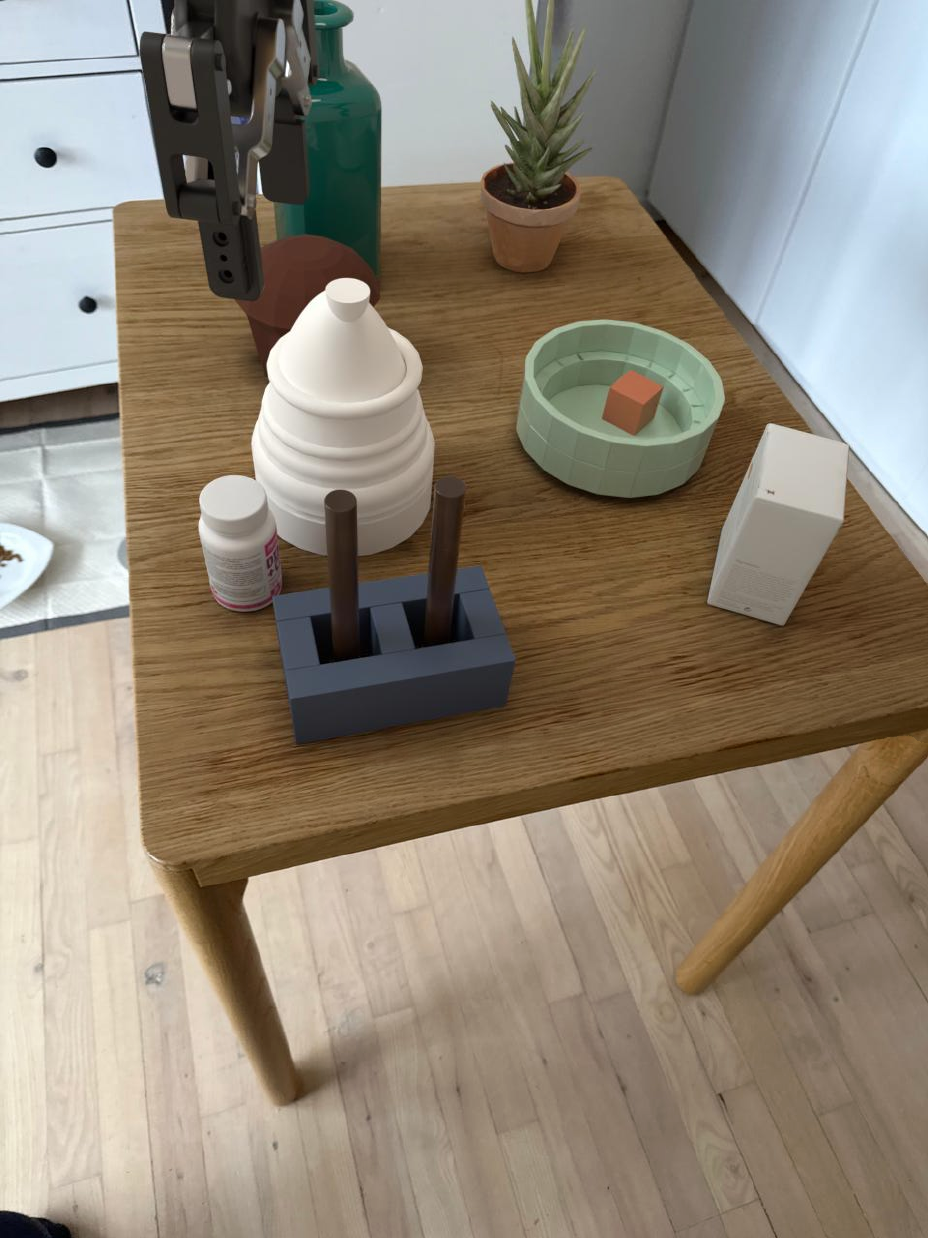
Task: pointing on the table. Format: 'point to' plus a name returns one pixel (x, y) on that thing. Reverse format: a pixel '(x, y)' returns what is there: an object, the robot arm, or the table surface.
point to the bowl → (576, 396)
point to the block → (632, 402)
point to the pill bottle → (239, 543)
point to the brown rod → (343, 573)
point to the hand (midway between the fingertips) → (264, 243)
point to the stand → (392, 658)
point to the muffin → (299, 284)
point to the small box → (780, 523)
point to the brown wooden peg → (443, 559)
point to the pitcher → (340, 149)
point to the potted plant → (536, 158)
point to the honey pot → (344, 424)
